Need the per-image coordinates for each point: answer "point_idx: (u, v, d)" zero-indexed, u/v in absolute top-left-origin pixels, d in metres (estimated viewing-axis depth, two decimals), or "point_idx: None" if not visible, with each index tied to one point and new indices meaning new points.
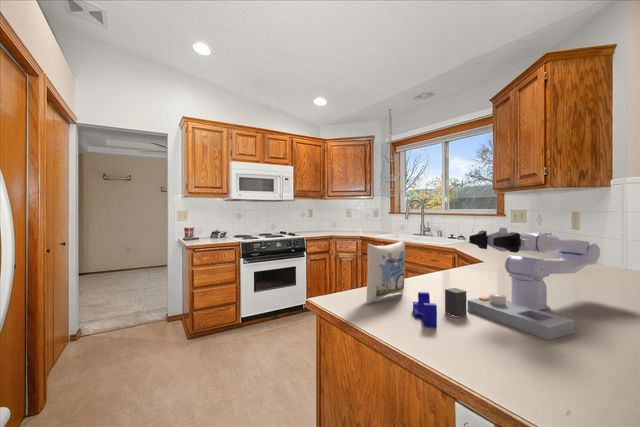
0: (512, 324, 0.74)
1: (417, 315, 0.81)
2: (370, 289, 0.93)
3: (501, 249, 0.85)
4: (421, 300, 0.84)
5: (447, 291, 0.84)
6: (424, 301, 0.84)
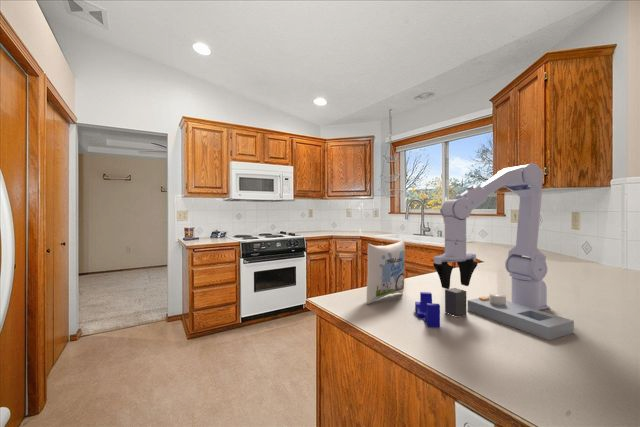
0: (512, 324, 0.74)
1: (420, 315, 0.81)
2: (370, 289, 0.93)
3: None
4: (423, 300, 0.84)
5: (447, 291, 0.84)
6: (426, 301, 0.84)
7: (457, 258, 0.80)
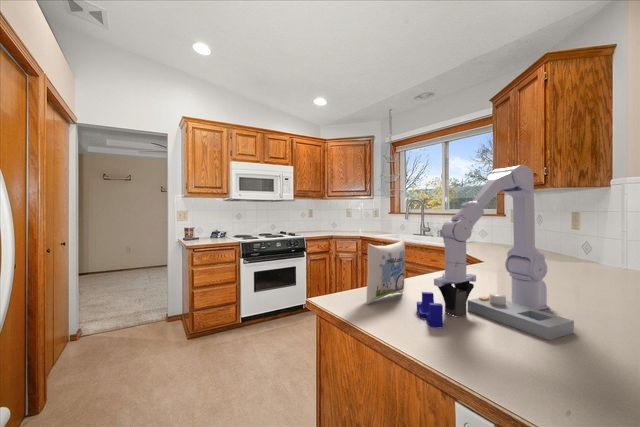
0: (512, 324, 0.74)
1: (422, 315, 0.81)
2: (370, 289, 0.93)
3: None
4: (425, 300, 0.84)
5: None
6: (428, 301, 0.84)
7: (457, 280, 0.80)
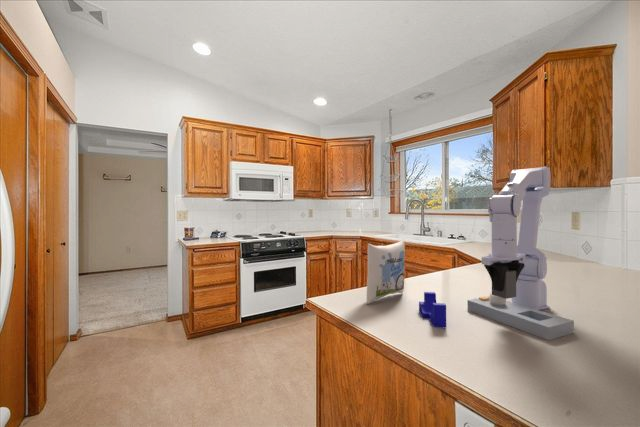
0: (512, 324, 0.74)
1: (425, 315, 0.81)
2: (370, 289, 0.93)
3: (513, 259, 0.75)
4: (428, 300, 0.84)
5: None
6: (431, 301, 0.84)
7: (508, 259, 0.74)
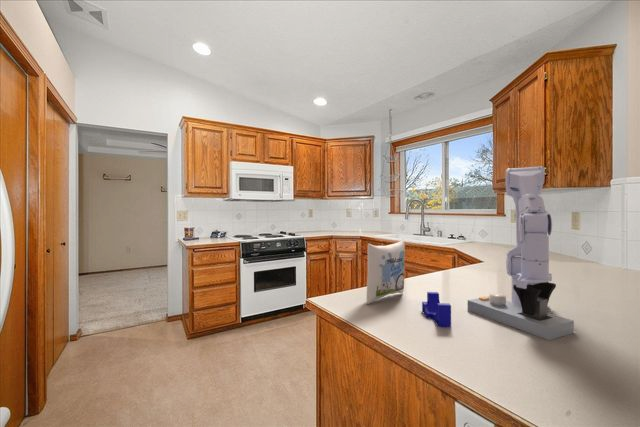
0: (512, 324, 0.74)
1: (429, 315, 0.80)
2: (370, 289, 0.93)
3: (546, 281, 0.72)
4: (431, 300, 0.84)
5: None
6: (434, 301, 0.84)
7: (542, 281, 0.71)
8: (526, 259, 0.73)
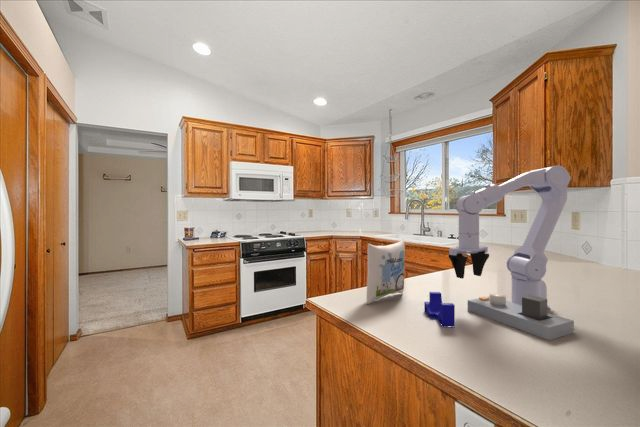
0: (512, 324, 0.74)
1: (431, 315, 0.80)
2: (370, 289, 0.93)
3: (475, 251, 0.87)
4: (433, 300, 0.84)
5: (526, 299, 0.74)
6: (436, 301, 0.84)
7: (471, 250, 0.87)
8: (460, 233, 0.89)
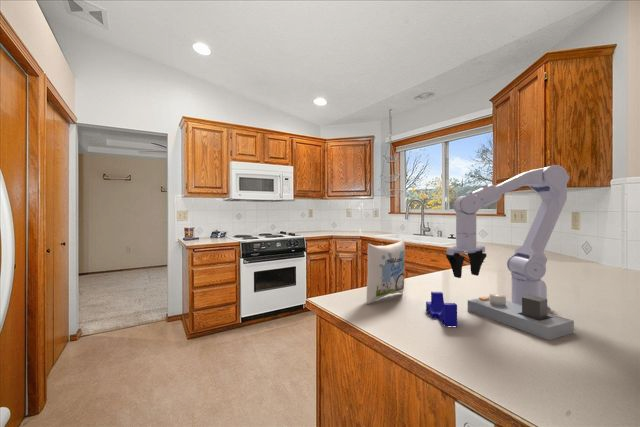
0: (512, 324, 0.74)
1: (434, 315, 0.80)
2: (370, 289, 0.93)
3: (473, 250, 0.88)
4: (435, 300, 0.84)
5: (526, 299, 0.74)
6: (438, 301, 0.84)
7: (468, 249, 0.87)
8: (457, 233, 0.90)
